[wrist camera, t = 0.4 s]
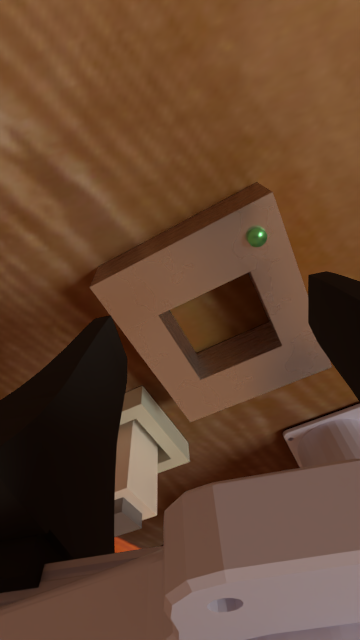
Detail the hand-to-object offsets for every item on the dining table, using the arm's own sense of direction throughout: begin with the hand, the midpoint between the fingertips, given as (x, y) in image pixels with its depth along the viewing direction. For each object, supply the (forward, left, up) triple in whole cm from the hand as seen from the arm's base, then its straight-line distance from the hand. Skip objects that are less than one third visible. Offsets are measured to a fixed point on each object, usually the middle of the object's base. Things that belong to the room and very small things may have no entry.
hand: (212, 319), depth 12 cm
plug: (-13, +13, -10) cm, 21 cm away
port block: (-5, +1, -10) cm, 11 cm away
